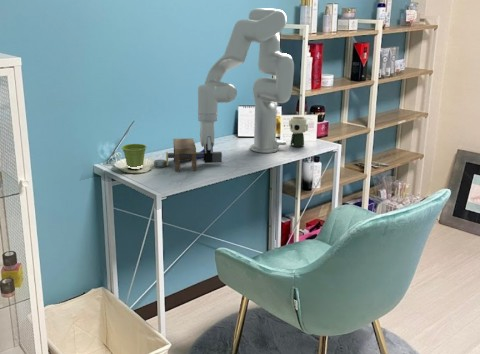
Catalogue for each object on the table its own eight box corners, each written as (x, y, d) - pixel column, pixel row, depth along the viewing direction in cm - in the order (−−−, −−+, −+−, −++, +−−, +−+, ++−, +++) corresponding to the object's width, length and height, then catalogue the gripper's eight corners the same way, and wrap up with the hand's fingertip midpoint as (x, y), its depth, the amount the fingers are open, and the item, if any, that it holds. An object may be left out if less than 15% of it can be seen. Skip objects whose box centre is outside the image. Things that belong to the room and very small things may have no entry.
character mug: (283, 144, 250) (284, 116, 246) (293, 142, 255) (294, 114, 251) (301, 149, 243) (302, 121, 238) (311, 147, 247) (313, 118, 243)
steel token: (152, 165, 218) (151, 160, 218) (163, 163, 221) (163, 158, 220) (156, 168, 214) (156, 163, 214) (168, 167, 217) (168, 162, 216)
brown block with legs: (193, 159, 226) (193, 138, 223) (196, 170, 212) (196, 148, 209) (173, 159, 225) (173, 138, 222) (175, 171, 211) (175, 149, 208)
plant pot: (121, 165, 217) (119, 144, 214) (144, 163, 220) (143, 142, 217) (125, 172, 209) (124, 151, 206) (149, 170, 212) (148, 148, 209)
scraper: (220, 159, 223) (220, 150, 222) (222, 163, 218) (222, 154, 217) (166, 161, 220) (166, 152, 218) (166, 165, 215) (166, 155, 214)
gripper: (196, 112, 221) (196, 156, 227) (200, 121, 206) (200, 168, 212) (214, 112, 222) (214, 155, 228) (219, 121, 207) (219, 167, 213)
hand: (207, 161), depth 220 cm, fingers closed on scraper, 2 cm apart
